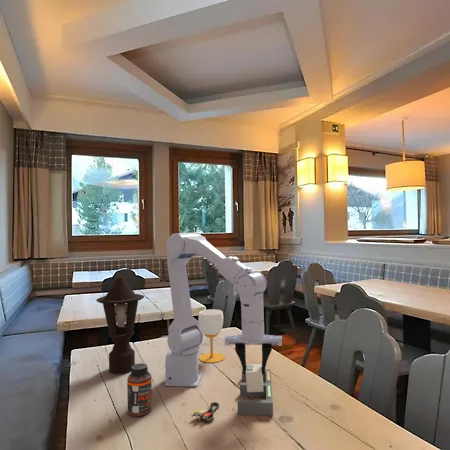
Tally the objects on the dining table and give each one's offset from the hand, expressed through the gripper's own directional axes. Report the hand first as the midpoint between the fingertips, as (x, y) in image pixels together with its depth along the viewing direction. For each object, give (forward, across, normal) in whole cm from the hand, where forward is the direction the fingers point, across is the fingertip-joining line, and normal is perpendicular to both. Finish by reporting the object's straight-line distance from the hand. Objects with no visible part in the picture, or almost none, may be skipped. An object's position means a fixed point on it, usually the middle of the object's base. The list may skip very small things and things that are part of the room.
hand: (254, 372), depth 92 cm
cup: (+8, -16, +32) cm, 36 cm away
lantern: (+8, -44, +21) cm, 49 cm away
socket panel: (+8, 0, +5) cm, 9 cm away
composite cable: (+8, -11, -6) cm, 15 cm away
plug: (+4, 0, 0) cm, 4 cm away
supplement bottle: (+8, -28, -5) cm, 30 cm away
